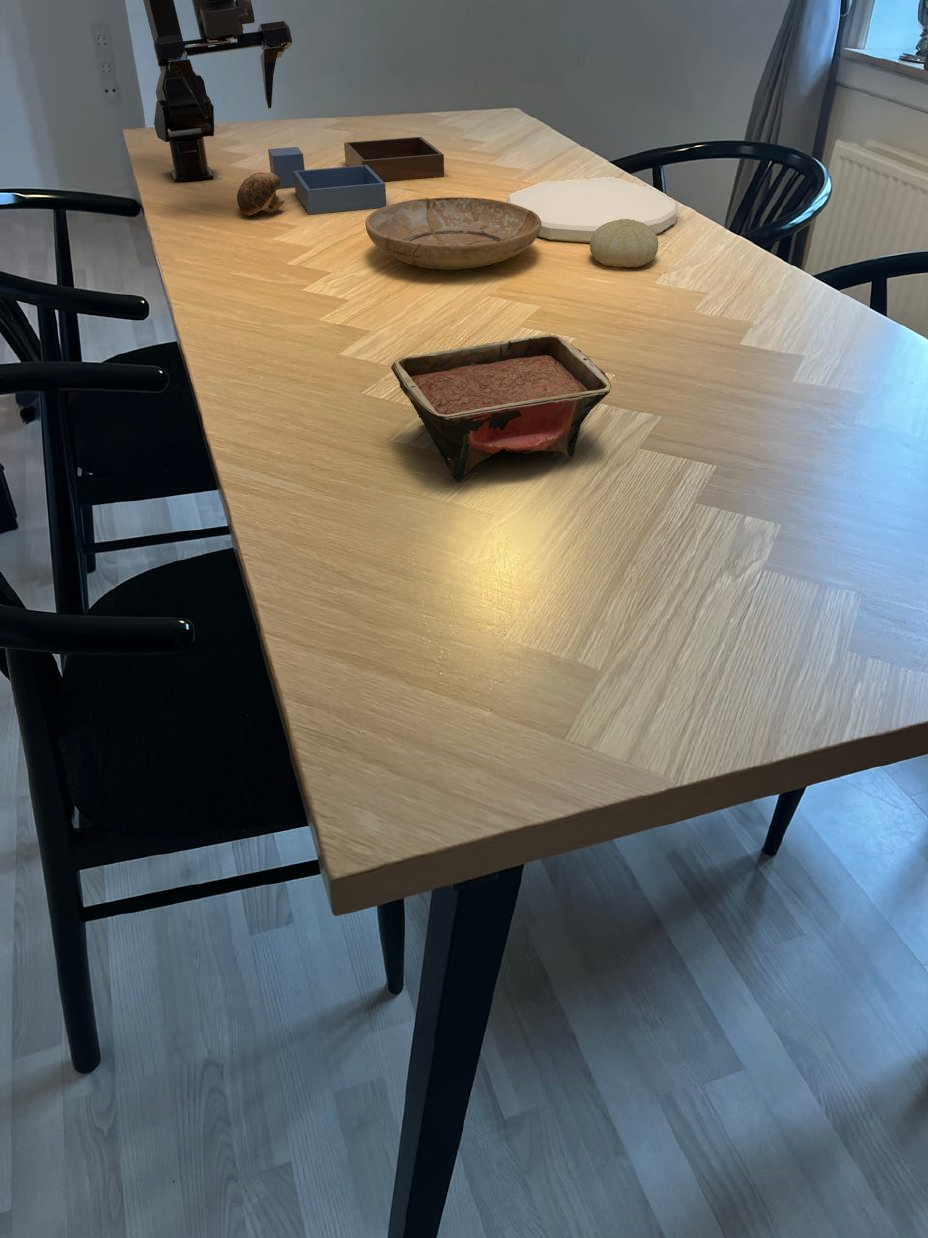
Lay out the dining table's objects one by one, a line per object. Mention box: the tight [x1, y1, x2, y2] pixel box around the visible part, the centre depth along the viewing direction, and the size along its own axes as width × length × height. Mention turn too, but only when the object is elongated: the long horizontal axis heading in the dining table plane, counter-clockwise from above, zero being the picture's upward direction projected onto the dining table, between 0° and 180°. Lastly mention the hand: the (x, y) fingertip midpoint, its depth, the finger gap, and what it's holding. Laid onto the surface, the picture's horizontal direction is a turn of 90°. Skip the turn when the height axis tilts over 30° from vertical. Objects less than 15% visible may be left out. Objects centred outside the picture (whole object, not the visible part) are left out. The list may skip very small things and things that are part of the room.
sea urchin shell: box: [589, 219, 659, 268], centre depth 126 cm, size 9×8×8 cm
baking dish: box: [390, 333, 612, 483], centre depth 85 cm, size 14×18×10 cm
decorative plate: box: [506, 176, 679, 244], centre depth 141 cm, size 25×4×25 cm
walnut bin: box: [343, 136, 445, 183], centre depth 165 cm, size 14×14×4 cm
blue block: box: [267, 146, 306, 189], centre depth 157 cm, size 5×5×5 cm
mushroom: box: [236, 171, 285, 216], centre depth 144 cm, size 8×8×6 cm
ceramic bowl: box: [364, 196, 541, 271], centre depth 127 cm, size 23×24×5 cm
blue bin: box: [293, 165, 387, 215], centre depth 150 cm, size 12×12×4 cm
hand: (238, 112), depth 136 cm, fingers open, 9 cm apart
